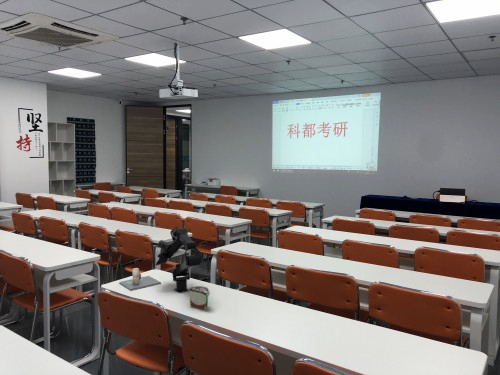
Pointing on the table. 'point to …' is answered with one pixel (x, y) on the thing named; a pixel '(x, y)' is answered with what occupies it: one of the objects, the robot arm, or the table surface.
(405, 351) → the table surface
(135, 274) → the tuning peg
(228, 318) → the table surface
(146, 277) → the grey flat slab
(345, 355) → the table surface
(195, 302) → the food container
